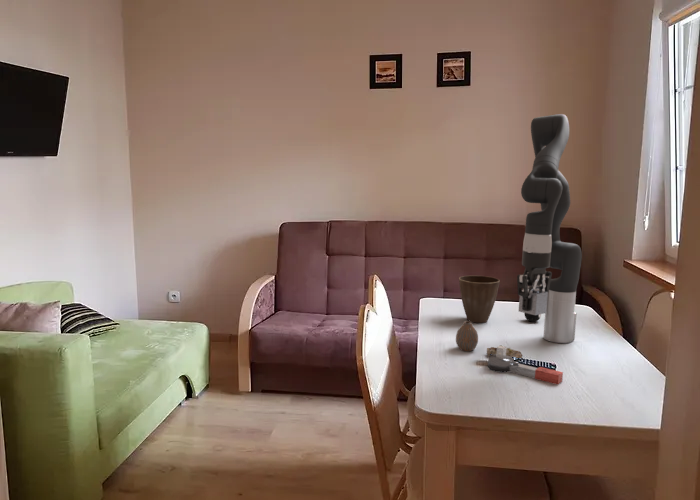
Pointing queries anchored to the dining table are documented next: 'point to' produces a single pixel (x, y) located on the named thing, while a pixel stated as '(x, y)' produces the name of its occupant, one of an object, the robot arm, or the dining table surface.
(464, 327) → the vase
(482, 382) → the dining table surface
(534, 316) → the billiard ball
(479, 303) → the plant pot
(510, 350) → the mineral rock
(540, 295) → the domed steel cube
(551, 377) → the ratchet
